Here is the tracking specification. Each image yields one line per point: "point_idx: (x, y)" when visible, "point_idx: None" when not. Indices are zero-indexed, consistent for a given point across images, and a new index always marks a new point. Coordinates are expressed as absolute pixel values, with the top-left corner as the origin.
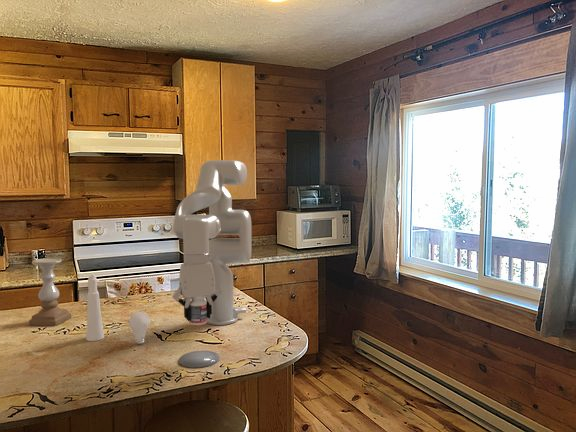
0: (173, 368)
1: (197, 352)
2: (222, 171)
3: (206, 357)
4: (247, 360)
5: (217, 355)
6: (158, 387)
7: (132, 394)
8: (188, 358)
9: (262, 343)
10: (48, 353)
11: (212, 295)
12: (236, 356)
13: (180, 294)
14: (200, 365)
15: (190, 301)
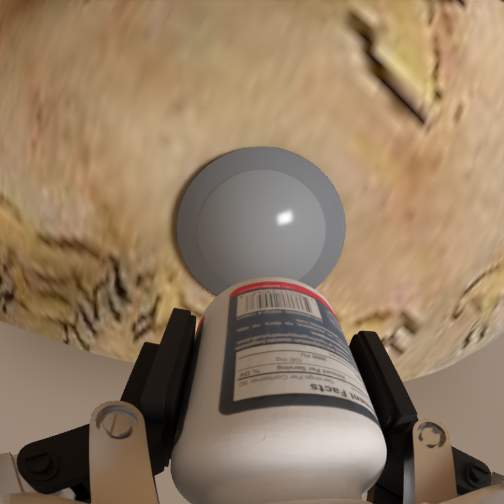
0: (145, 248)
1: (281, 175)
2: None
3: (287, 249)
4: (387, 326)
5: (334, 254)
6: (87, 338)
7: (37, 330)
8: (218, 216)
9: (500, 231)
10: None
11: (459, 495)
12: (387, 281)
13: (14, 497)
14: None
15: (189, 483)
